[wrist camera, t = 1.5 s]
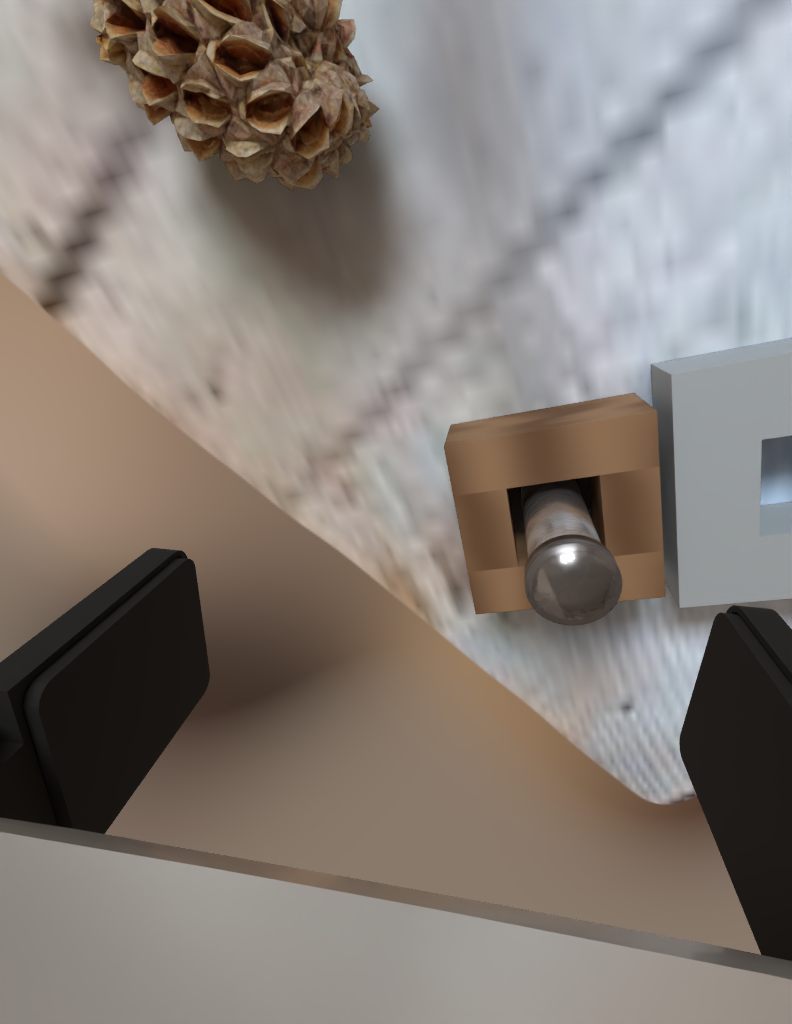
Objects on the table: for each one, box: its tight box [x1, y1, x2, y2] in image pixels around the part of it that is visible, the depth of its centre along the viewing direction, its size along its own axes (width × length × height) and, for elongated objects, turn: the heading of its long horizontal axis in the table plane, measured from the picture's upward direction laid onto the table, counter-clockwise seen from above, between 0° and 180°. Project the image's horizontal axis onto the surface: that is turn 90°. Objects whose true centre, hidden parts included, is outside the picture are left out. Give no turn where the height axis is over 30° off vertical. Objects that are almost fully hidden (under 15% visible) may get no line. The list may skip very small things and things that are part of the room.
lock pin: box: [521, 479, 622, 625], centre depth 30 cm, size 4×4×12 cm
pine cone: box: [90, 0, 379, 192], centre depth 24 cm, size 22×10×10 cm, turn 61°
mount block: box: [444, 393, 665, 614], centre depth 33 cm, size 11×11×5 cm
